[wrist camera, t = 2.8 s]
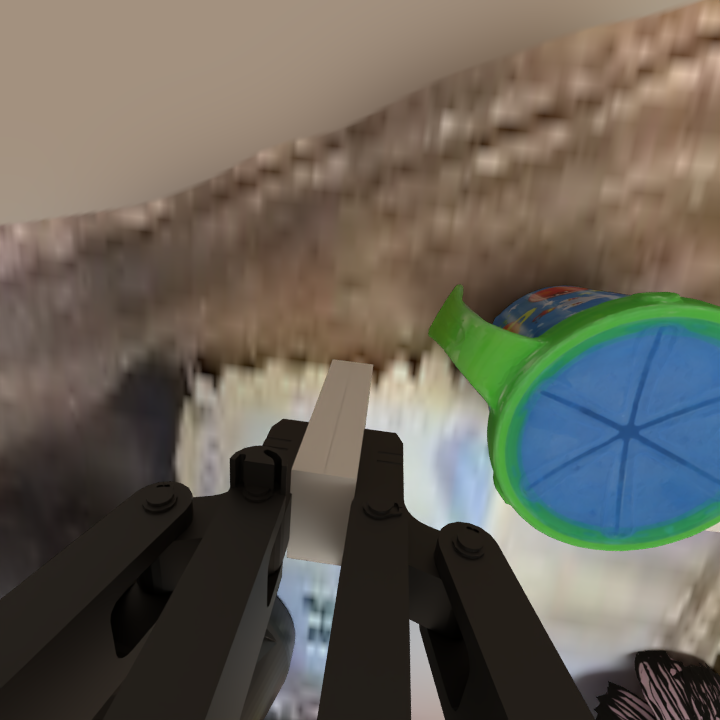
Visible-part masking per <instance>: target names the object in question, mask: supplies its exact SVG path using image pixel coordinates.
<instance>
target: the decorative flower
mask: <svg viewBox="0 0 720 720" xmlns="http://www.w3.org/2000/svg"><path fill="white" fill-rule="evenodd" d="M638 653H639V655H638V654H636V657H635V670H636V674H637V678H638V680H639V683H640V685H641V688H642V692H643V695H644V697H645V700H646V701H647V702H645V701H644V700H642V699H641V698H639V697H638V696H637V695H636V694H634V693H632V692H630V691H629V690H627V689H625V688H624V687H621V686H619V685H616V684H614V683H611V682H609V681H608V683H609V687H607V688H608V692H607V693H606V694H605V695H601V696H598V697H596V698H597V699H598V700H599V702H600V704H599V705H598V706H597V707H596V708H595V709H594V710H595V711H596V712H597V713H598V714H597V717H596V720H720V676H719V675H718V673H716V674H715V673H714V672H713V671H712V670H711V669H710V667H709V666H708V665H707V664H706V663H705V664H706V666H707V668H708V669H707V668H706V667H705V666H703V665H702V664H700V663H699V664H700V666H701V667H699V666H695V665H691V666H692V667H691V666H689V667H685V666H684V665H683V663H682V662H679V661H675V660H674V659H672V658H670V657H669V656H668V654H667V653H666V651H645V652H638Z"/></svg>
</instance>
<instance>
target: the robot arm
mask: <svg viewBox="0 0 720 720" xmlns="http://www.w3.org/2000/svg"><path fill="white" fill-rule="evenodd" d="M372 370H373V365H372V364H364V363H357V362H349V361H341V360H334V359H333V360H332V363H331V366H330V368H329V371H328V374H327V376H326V379H325V382H324V384H323V387H322V390H321V392H320V395H319V398H318V400H317V403H316V406H315V408H314V411H313V414H312V416H311V419H310V422H303V421H296V420H288V419H282V420H281V421H279V422H278V423H277V424H275V425H274V426H272V428H271V430H270V432H269V434H268V436H267V439H265V441H264V443H263V446H252V447H247V448H244V449H242V450H240V451H238V452H236V453H235V454H234V455H233V456H232V457H231V458H230V489H229V491H228V492H226V493H223V494H219V495H213V496H204V497H193V498H192V493H191V491H190V489H189V488H188V487H187V486H185V485H183V484H181V483H177V482H171V481H169V482H158V483H155V484H152V485H148V486H146V487H144V488H142V489H141V490H139V491H137V492H136V493H135V494H133V495H132V496H131V497H130V498H128V499H127V500H126V501H124V502H123V503H122V504H121V505H119V506H118V507H117V508H116V509H114V510H113V511H112V512H111V513H109V514H108V515H107V516H106V517H104V518H103V519H102V520H100V521H99V522H98V523H97V524H95V525H94V526H93V527H92V528H90V529H89V530H88V531H87V532H85V533H84V534H83V535H81V536H80V537H79V538H78V539H76V540H75V541H74V542H73V543H71V544H70V545H69V546H68V547H66V548H65V549H64V550H63V551H61V552H60V553H59V554H57V555H56V556H55V557H54V558H52V559H51V560H50V561H49V562H47V563H46V564H45V565H44V566H42V567H41V568H40V569H38V570H37V571H36V572H35V573H33V574H32V575H31V576H30V577H28V578H27V579H26V580H25V581H23V582H22V583H21V584H20V585H18V586H17V587H16V588H14V589H13V590H12V591H11V592H9V593H8V594H7V595H6V596H4V597H3V598H2V599H1V600H0V720H264V718H265V716H266V715H267V713H268V711H269V709H270V707H271V705H272V704H273V702H274V700H275V698H276V696H277V695H278V693H279V691H280V689H281V687H282V685H283V684H284V682H285V679H286V677H287V674H288V671H289V667H290V662H291V658H292V653H293V649H294V644H295V631H294V626H293V623H292V620H291V618H290V615H289V613H288V612H287V610H286V608H285V607H284V605H283V604H282V603H281V602H280V600H279V599H278V598H277V597H276V595H277V591H278V588H279V584H280V581H281V578H282V565H283V558H284V555H285V552H286V549H287V558H293V559H299V560H306V561H313V562H319V563H326V564H333V565H339V566H341V570H340V577H339V583H338V589H337V596H336V602H335V609H334V615H333V621H332V628H331V634H330V641H329V647H328V653H327V660H326V666H325V672H324V679H323V685H322V692H321V698H320V704H319V711H318V717H317V720H411V692H410V691H411V689H410V635H409V634H410V632H409V619H410V620H412V621H414V622H416V623H418V624H419V628H420V632H421V636H422V639H423V643H424V647H425V650H426V654H427V657H428V661H429V664H430V668H431V671H432V675H433V678H434V682H435V685H436V689H437V692H438V696H439V699H440V703H441V707H442V710H443V714H444V717H445V720H595V719H594V717H593V715H592V713H591V712H590V710H589V708H588V706H587V704H586V702H585V701H584V699H583V697H582V695H581V693H580V692H579V690H578V688H577V686H576V684H575V683H574V681H573V679H572V677H571V675H570V674H569V672H568V670H567V668H566V666H565V665H564V663H563V661H562V659H561V657H560V656H559V654H558V652H557V650H556V648H555V647H554V645H553V643H552V641H551V639H550V638H549V636H548V634H547V632H546V630H545V629H544V627H543V625H542V623H541V621H540V620H539V618H538V616H537V614H536V612H535V611H534V609H533V607H532V605H531V603H530V602H529V600H528V598H527V596H526V594H525V593H524V591H523V589H522V587H521V585H520V583H519V582H518V580H517V578H516V576H515V574H514V573H513V571H512V569H511V567H510V565H509V564H508V562H507V560H506V558H505V556H504V555H503V553H502V551H501V549H500V547H499V546H498V544H497V542H496V541H495V540H494V539H493V537H492V536H491V535H490V534H489V533H487V532H486V531H484V530H483V529H482V528H480V527H478V526H475V525H473V524H470V523H464V522H455V523H450V524H447V525H446V526H444V527H443V528H442V529H441V531H439V530H437V529H434V528H432V527H429V526H427V525H425V524H423V523H421V522H419V521H418V520H417V519H415V518H414V517H413V516H412V515H411V514H410V513H409V512H408V510H407V508H406V506H405V504H404V483H403V443H402V441H401V440H400V438H399V437H398V435H397V434H396V433H391V432H384V431H377V430H369V429H365V425H366V417H367V409H368V401H369V394H370V386H371V378H372Z"/></svg>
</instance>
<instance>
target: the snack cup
mask: <svg viewBox="0 0 720 720" xmlns="http://www.w3.org/2000/svg"><path fill="white" fill-rule="evenodd" d="M462 298H463V286H462V285H461V284H459V285H456V287H455V288H454V289H453V291H452V292H451V294H450V295H449V297H448V298H447V300H446V301H445V303H444V304H443V306H442V308H441V309H440V311H439V313H438V314H437V316H436V318H435V319H434V321H433V323H432V325H431V327H430V329H429V332H428V335H429V336H430V337H431V338H433V339H434V340H435V341H436V342H437V343H438V344H439V345H440V346H441V347H442V348H443V349H444V351H445V352H446V353H447V355H448V356H449V357H450V359H451V360H452V362H453V363H454V364H455V365H456V367H457V368H458V369H459V370H460V372H461V373H462V374H463V375H464V376H465V378H466V379H467V380H468V381H469V382H470V384H471V385H472V386H473V387H474V388H475V389H476V390H477V392H478V393H479V394H480V395H481V396H482V397H483V398H484V399H485V401H486V402H487V403H488V406H489V418H488V426H487V442H488V449H489V457H490V461H491V465H492V468H493V471H494V472H493V481H494V485H495V488H496V490H497V491H498V492H499V494H500V496H501V497H502V498H503V500H504V501H505V503H506V504H509V505H511V506H512V507H513V508H514V509H515V511H516V512H517V513H518V514H519V515H520V516H521V517H522V518H523V519H524V520H525V521H526V522H528V523H529V524H530V525H531V526H533V527H534V528H535V529H537V530H538V531H540V532H542V533H544V534H546V535H547V536H549V537H552V538H554V539H556V540H559V541H561V542H564V543H568V544H570V545H574V546H578V547H583V548H588V549H595V550H605V551H628V550H639V549H646V548H653V547H658V546H662V545H666V544H669V543H673V542H676V541H679V540H682V539H685V538H688V537H691V536H693V535H695V534H698V533H700V532H702V531H704V530H706V529H708V528H710V527H712V526H714V525H716V524H717V523H719V522H720V307H719V306H716V305H713V304H710V303H707V302H703V301H700V300H696V299H690V298H684V297H680V296H679V295H678V294H676V293H671V292H646V293H638V294H633V295H625V294H619V293H613V292H605V291H598V290H591V289H587V288H582V287H578V286H568V285H567V286H554V287H546V288H543V289H539V290H536V291H534V292H531V293H529V294H526V295H525V296H523V297H521V298H520V299H518V300H516V301H515V302H513V303H512V304H511V305H509V306H508V307H507V308H506V309H505V310H503V311H502V313H501V314H500V315H498V316H497V317H495V319H494V322H493V324H490V323H488V322H486V321H484V320H483V319H482V318H481V317H480V316H479V315H478V314H476V313H475V312H473V311H472V310H471V309H470V308H469V306H467V305H466V304H465V303H464V302H463V301H462Z"/></svg>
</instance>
